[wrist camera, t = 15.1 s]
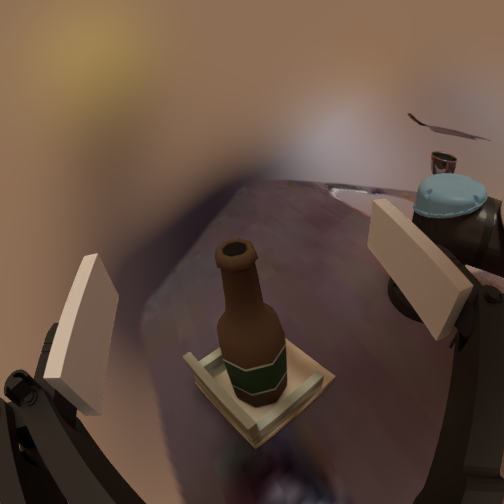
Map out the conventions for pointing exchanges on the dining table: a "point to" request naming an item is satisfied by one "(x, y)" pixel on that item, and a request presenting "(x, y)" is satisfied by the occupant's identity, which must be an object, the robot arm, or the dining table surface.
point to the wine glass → (442, 163)
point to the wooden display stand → (268, 416)
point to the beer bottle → (249, 329)
